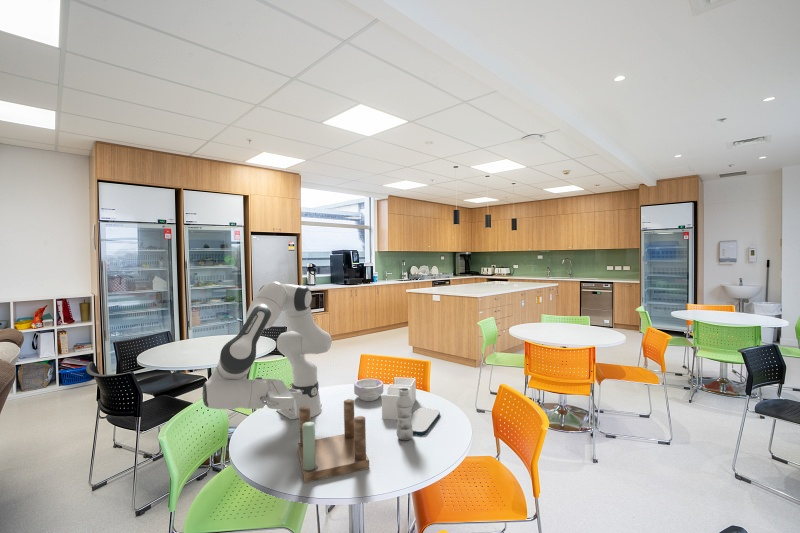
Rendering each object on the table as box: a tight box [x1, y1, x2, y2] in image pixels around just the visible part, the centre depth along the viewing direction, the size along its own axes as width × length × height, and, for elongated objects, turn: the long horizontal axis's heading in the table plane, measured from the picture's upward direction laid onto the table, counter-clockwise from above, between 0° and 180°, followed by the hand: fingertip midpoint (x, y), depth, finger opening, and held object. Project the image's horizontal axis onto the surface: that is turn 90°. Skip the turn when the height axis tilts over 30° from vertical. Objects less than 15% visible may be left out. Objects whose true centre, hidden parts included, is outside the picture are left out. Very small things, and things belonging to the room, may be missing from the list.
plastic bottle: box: [396, 388, 414, 441], centre depth 152 cm, size 6×7×20 cm
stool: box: [297, 398, 370, 483], centre depth 137 cm, size 22×22×17 cm
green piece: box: [302, 421, 316, 470], centre depth 130 cm, size 12×4×14 cm, turn 17°
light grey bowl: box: [353, 378, 384, 402], centre depth 196 cm, size 15×15×8 cm
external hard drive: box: [411, 407, 441, 436], centre depth 166 cm, size 24×12×2 cm, turn 156°
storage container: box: [381, 376, 417, 420], centre depth 182 cm, size 25×11×11 cm, turn 167°
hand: (301, 393), depth 128 cm, fingers closed
